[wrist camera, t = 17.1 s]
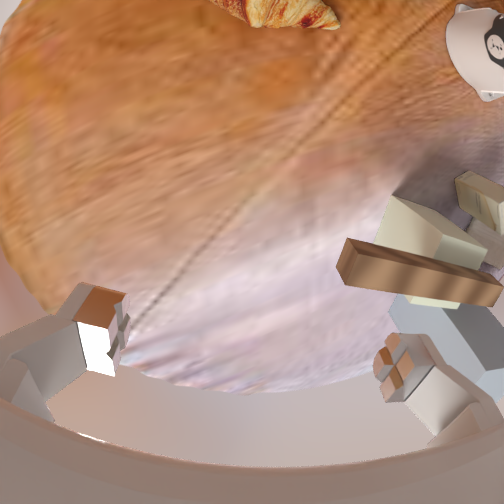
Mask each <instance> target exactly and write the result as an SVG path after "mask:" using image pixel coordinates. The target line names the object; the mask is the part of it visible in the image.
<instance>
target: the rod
mask: <svg viewBox="0 0 504 504" xmlns="http://www.w3.org/2000/svg"><path fill="white" fill-rule="evenodd" d="M336 268H337V270H338V272H339V274H340V276H341V278H342V280H343V282H344V284H345V285H348V286H354V287H360V288H366V289H372V290H379V291H385V292H391V293H398V294H404V295H411V296H417V297H424V298H430V299H437V300H444V301H451V302H458V303H465V304H472V305H479V306H486V307H493V306H494V304H495V302H496V301H497V299H498V297H499V295H500V294H501V292H502V290H503V288H504V286H503V285H502V284H500V282H498V281H497V280H496V279H495V278H494V277H493V276H492V275H491V274H488V273H485V272H481V271H477V270H474V269H470V268H467V267H463V266H459V265H455V264H452V263H448V262H444V261H440V260H436V259H433V258H429V257H425V256H421V255H417V254H413V253H409V252H405V251H401V250H397V249H393V248H389V247H384V246H380V245H376V244H372V243H368V242H363V241H359V240H355V239H350V238H347V239H346V242H345V244H344V247H343V250H342V252H341V255H340V258H339V260H338V263H337V265H336Z"/></svg>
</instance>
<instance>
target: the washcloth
mask: <svg viewBox="0 0 504 504" xmlns="http://www.w3.org/2000/svg"><path fill="white" fill-rule="evenodd" d="M466 233H467V234H469V235H470V236H471V237H472V238H474V239H475V240H476V241H478V242H479V243H480V244H481V245H483V246H484V247H485V248H486V249H488V251H487V253H486V255H485V257H484V260H483V262H485V263H487V264H490V265H492V266H494V267H495V268H498V269H502V267H503V266H504V234H503V235H502V236H501V235H499V234H498V233H497V232H495V231H494V230H492V229H491V228H489V227H488V226H487V225H485V224H484V223H482V222H481V221H479V220H478V219H476V218H475V217H473V218H472V220H471V222H470V225H469V227H467V230H466Z"/></svg>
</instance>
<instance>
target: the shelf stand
mask: <svg viewBox="0 0 504 504" xmlns="http://www.w3.org/2000/svg"><path fill="white" fill-rule="evenodd" d="M388 313H389V314H390V316H391V318H392V319H393V321H394V323H395V325H396V326H397V328H398V330H399V331H400V333H404V334H426V335H428V336H429V337H430V338H431V340H432V341H433V343H434V345H435V346H436V348H437V349H438V351H439V353H440V354H441V356H442V357H443V359H444V361H445V362H446V364H447V365H450V366H452V367H453V368H454V369H456V370H457V371H458V372H460V373H461V374H462V375H464V376H465V377H466V378H468V379H469V380H470V381H472V382H473V383H474V384H475V385H477V386H478V387H479V388H481V389H482V390H483V391H485V392H486V393H487V394H488V395H490V396H491V397H492V398H493V400H494V402H495V403H497V402H498V401H499V400H500V399H501V398H502V397H503V395H504V327H503V326H502V325H501V324H500V322H499V321H498V320H497V319H496V318H495V316H494V315H493V314H492V313H491V312H490V311H489V309H488V308H487V307H486V306H479V305H472V304H465V303H460V305H459V307H458V308H457V309H450V308H442V307H433V306H425V305H417V304H410V303H409V302H408V300H407V299H406V297H405V296H404V294H397V296H396V298H395V300H394V302H393V304H392V306H391V308H390V310H389V311H388Z"/></svg>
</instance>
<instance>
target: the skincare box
mask: <svg viewBox="0 0 504 504" xmlns="http://www.w3.org/2000/svg"><path fill="white" fill-rule="evenodd" d="M454 181H455V186H456V191H457V197H458V202H459V207H460V208H461V209H462V210H464V211H466V212H467V213H469V214H470V215H472V216H473V217H475V218H476V219H478V220H479V221H481V222H482V223H484V224H485V225H487V226H488V227H489V228H491V229H492V230H494V231H495V232H497V233H498V234H499V235H501V236H502V235H503V234H504V187H503V186H501V185H499V184H497V183H495V182H493V181H491V180H489V179H486V178H484V177H482V176H480V175H478V174H476V173H474V172H471V171H467V172H465V173H464V174H462V175H460V176H458V177H457V178H455V179H454Z"/></svg>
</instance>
